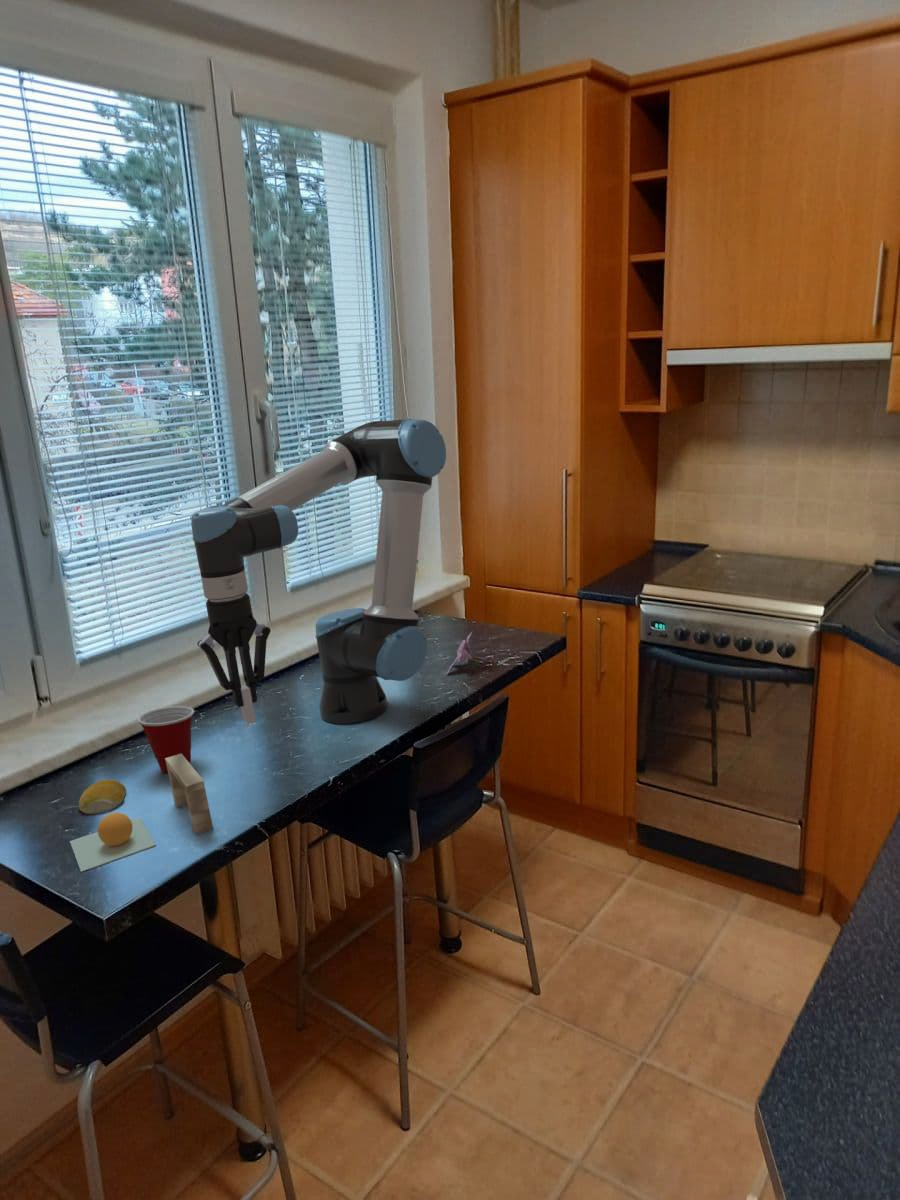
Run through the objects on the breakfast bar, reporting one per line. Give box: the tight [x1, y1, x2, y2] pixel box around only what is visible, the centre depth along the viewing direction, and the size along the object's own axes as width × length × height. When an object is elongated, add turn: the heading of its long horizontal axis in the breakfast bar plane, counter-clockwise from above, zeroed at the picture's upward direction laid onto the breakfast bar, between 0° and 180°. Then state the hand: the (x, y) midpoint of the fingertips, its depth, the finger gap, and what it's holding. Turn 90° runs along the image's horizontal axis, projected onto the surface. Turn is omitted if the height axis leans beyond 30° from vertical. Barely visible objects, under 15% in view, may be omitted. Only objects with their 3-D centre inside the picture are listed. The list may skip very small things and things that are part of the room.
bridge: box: [165, 753, 214, 836], centre depth 153 cm, size 3×14×9 cm, turn 32°
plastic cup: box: [137, 705, 195, 775], centre depth 173 cm, size 11×11×12 cm
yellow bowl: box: [78, 779, 127, 815], centre depth 163 cm, size 8×9×4 cm
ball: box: [97, 812, 132, 846], centre depth 147 cm, size 6×6×6 cm
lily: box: [446, 630, 480, 675], centre depth 212 cm, size 12×12×10 cm
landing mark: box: [69, 817, 157, 873], centre depth 147 cm, size 12×12×1 cm
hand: (249, 720), depth 157 cm, fingers closed
